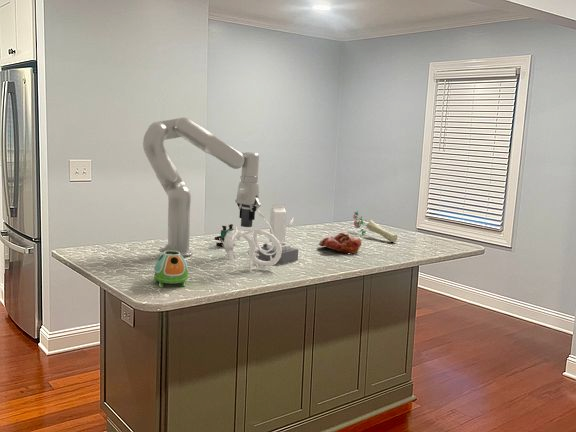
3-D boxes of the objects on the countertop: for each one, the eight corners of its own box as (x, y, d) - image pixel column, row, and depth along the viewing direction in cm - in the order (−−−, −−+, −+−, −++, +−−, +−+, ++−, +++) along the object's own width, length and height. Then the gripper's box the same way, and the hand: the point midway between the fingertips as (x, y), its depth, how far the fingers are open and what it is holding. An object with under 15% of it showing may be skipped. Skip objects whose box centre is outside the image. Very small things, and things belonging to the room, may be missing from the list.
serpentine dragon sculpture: (291, 253, 261) (280, 200, 258) (319, 255, 245) (307, 198, 242) (210, 282, 237) (196, 224, 234) (234, 286, 220) (220, 223, 217)
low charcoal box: (282, 264, 247) (283, 248, 246) (258, 258, 255) (258, 243, 254) (297, 260, 255) (298, 244, 254) (273, 254, 264) (274, 239, 263)
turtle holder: (180, 274, 223) (181, 245, 221) (192, 287, 207) (192, 255, 205) (148, 276, 218) (149, 246, 216) (157, 290, 202) (158, 257, 200)
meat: (310, 246, 285) (311, 227, 284) (346, 244, 294) (347, 225, 293) (330, 256, 267) (332, 235, 265) (368, 253, 276) (370, 233, 274)
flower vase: (385, 256, 304) (343, 230, 330) (402, 248, 310) (359, 223, 335) (385, 237, 298) (342, 213, 324) (402, 229, 304) (359, 206, 329)
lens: (246, 227, 258) (248, 205, 257) (238, 225, 261) (239, 203, 260) (254, 226, 262) (256, 204, 261) (246, 224, 266) (247, 203, 264)
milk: (269, 248, 277) (270, 203, 273) (280, 247, 279) (282, 203, 275) (273, 251, 271) (274, 205, 268) (285, 250, 273) (286, 205, 270)
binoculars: (222, 223, 284) (237, 224, 278) (223, 244, 285) (238, 245, 279) (209, 225, 277) (224, 226, 271) (210, 246, 278) (225, 248, 272)
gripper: (230, 177, 261) (227, 216, 264) (258, 182, 250) (255, 222, 253) (241, 177, 267) (238, 215, 269) (269, 181, 256) (266, 221, 259)
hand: (246, 218), depth 261 cm, fingers closed on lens, 5 cm apart
